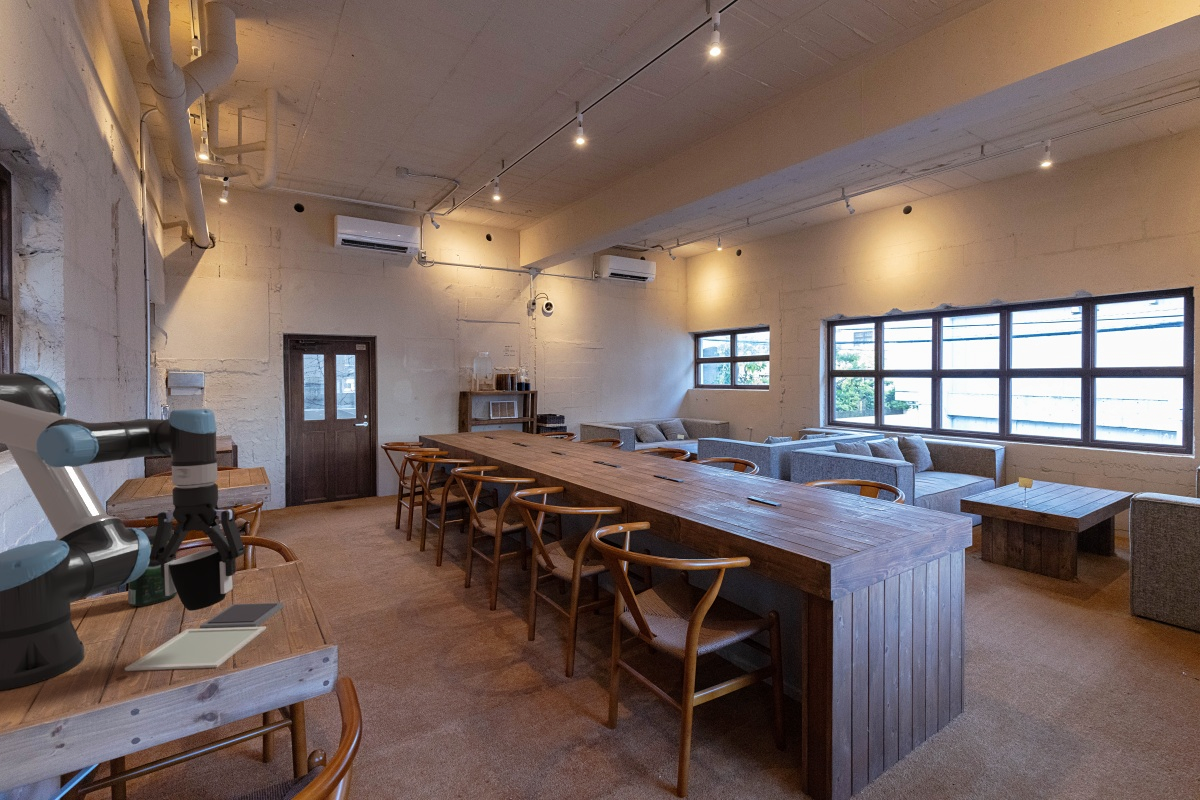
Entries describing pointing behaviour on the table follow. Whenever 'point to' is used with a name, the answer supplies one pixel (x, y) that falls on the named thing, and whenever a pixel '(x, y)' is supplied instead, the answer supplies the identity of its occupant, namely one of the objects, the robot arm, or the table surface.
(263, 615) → the ink pad
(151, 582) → the coffee jar
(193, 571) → the mug
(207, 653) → the marked square
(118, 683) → the table surface
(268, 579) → the table surface
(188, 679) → the table surface
